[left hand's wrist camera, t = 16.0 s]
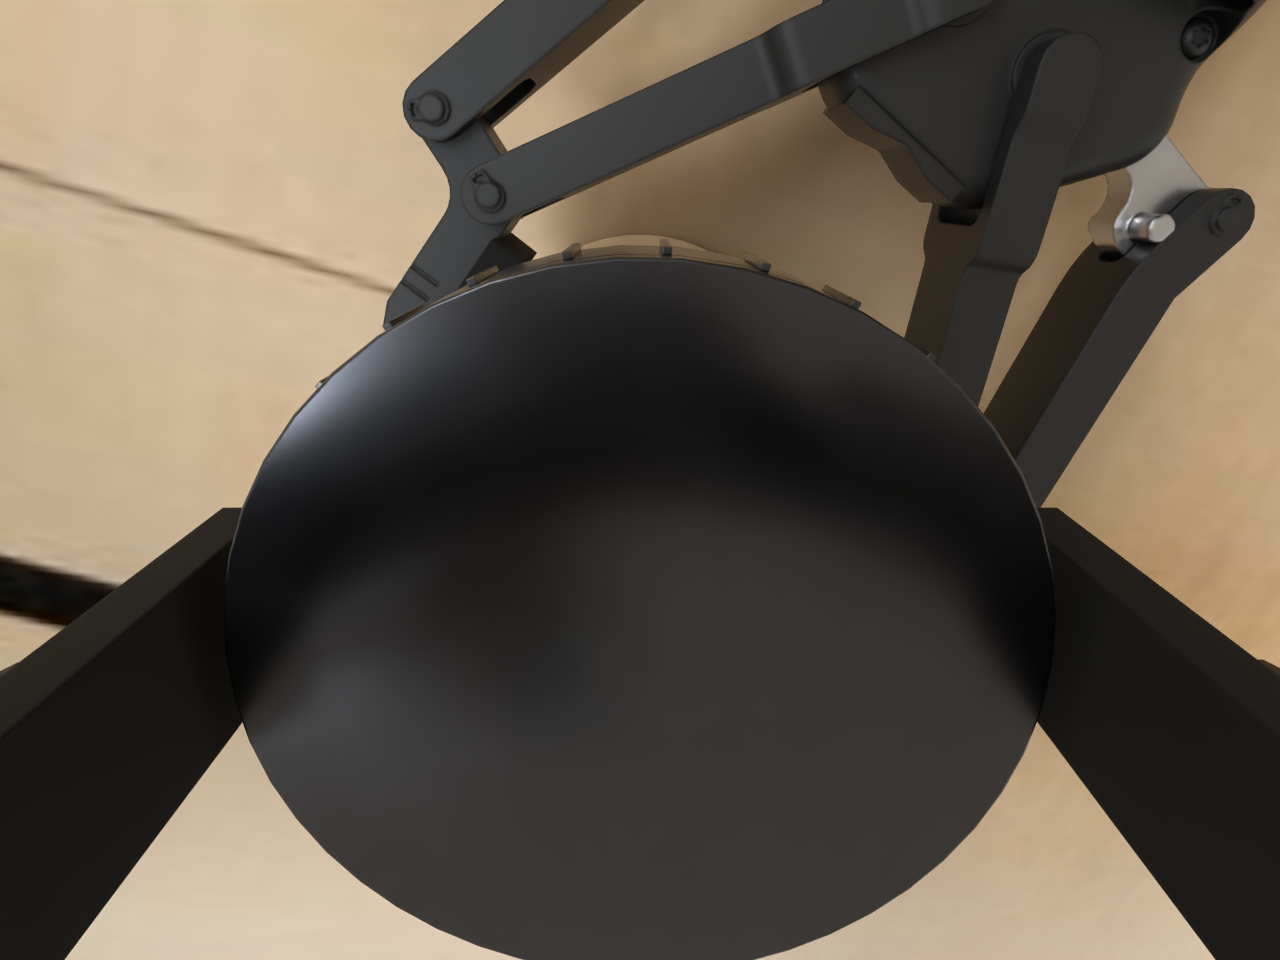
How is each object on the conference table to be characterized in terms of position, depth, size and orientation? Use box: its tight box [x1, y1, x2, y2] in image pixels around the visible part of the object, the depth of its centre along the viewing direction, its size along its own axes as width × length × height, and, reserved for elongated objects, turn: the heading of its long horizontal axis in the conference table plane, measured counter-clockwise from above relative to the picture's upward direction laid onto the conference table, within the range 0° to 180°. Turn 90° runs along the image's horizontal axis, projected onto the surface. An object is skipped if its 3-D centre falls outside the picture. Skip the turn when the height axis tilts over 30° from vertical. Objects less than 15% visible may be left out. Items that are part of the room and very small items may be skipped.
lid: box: [223, 239, 1056, 960], centre depth 11 cm, size 11×11×2 cm
